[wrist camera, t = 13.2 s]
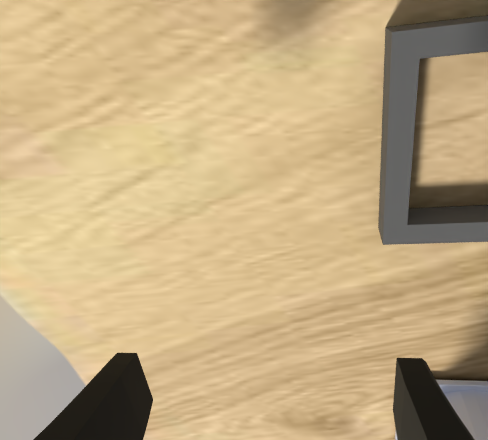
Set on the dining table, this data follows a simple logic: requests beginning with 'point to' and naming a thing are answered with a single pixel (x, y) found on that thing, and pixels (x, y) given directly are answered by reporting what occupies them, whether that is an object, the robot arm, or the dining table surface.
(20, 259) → the dining table surface
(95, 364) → the dining table surface
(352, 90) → the dining table surface
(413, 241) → the grey rectangular frame
